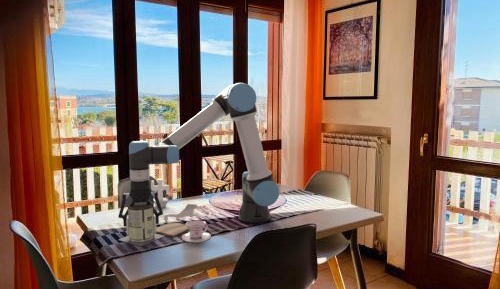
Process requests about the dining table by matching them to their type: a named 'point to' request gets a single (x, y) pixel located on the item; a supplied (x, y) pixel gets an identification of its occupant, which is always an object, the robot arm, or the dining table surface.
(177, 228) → the walnut board
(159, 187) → the figurine
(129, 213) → the coffee can
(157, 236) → the tile
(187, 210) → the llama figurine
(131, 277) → the dining table surface
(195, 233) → the teacup
